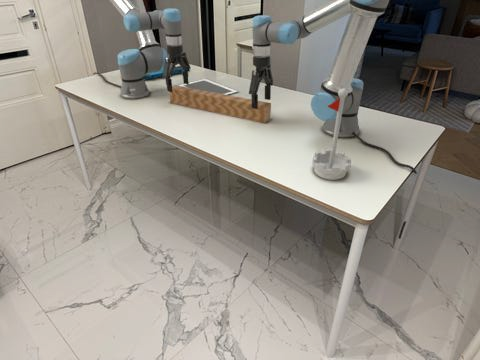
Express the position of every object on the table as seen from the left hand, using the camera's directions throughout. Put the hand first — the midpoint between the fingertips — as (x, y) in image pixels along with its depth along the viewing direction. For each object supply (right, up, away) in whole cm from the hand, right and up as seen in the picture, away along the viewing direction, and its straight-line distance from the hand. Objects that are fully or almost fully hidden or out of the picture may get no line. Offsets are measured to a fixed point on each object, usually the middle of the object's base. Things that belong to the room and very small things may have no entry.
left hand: (178, 87), depth 176 cm
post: (+21, -13, -5) cm, 25 cm away
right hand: (+42, -13, -20) cm, 48 cm away
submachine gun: (-20, +23, +50) cm, 59 cm away
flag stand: (+64, -45, -55) cm, 96 cm away
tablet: (+13, +5, +22) cm, 26 cm away
